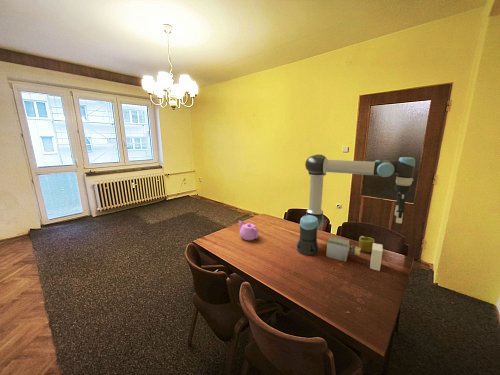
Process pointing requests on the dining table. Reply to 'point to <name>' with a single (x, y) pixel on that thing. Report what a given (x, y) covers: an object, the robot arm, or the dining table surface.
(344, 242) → the pale grey box
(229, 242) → the dining table surface
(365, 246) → the mug
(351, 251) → the tube
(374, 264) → the socket block
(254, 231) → the teapot
